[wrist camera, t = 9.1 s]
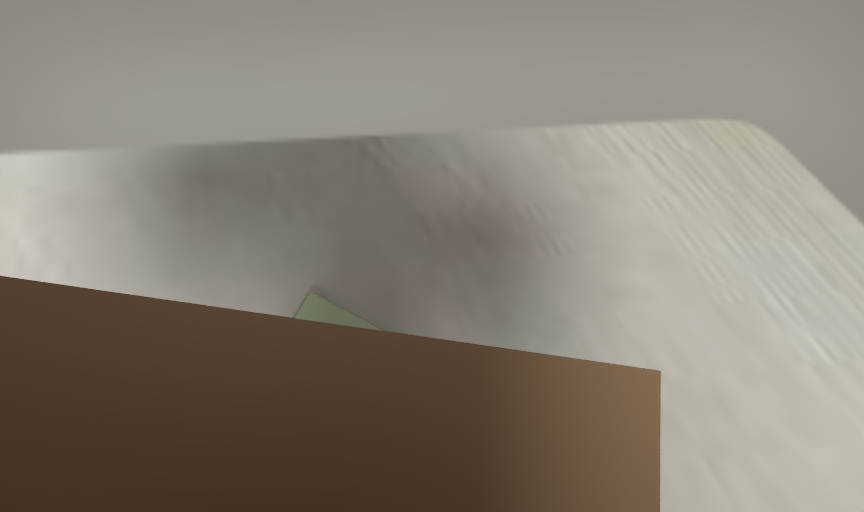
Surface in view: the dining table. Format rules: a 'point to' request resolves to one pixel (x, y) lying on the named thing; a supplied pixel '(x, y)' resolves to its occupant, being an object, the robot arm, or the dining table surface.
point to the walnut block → (302, 415)
